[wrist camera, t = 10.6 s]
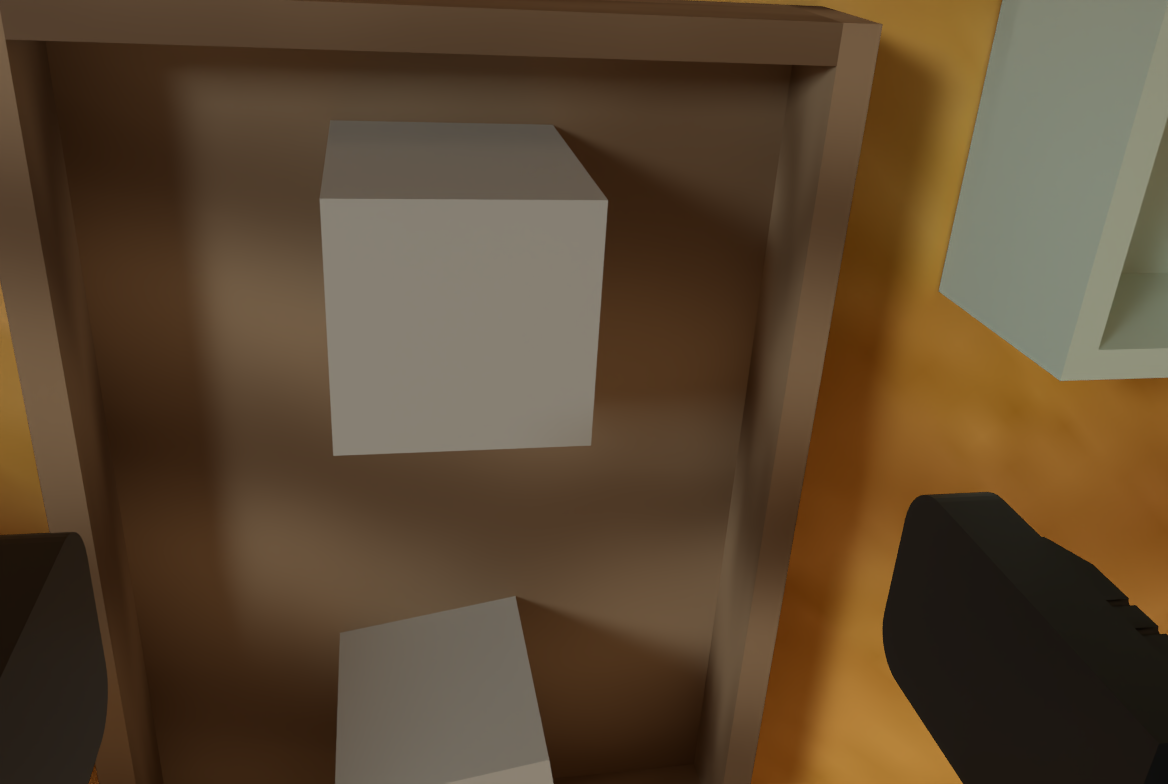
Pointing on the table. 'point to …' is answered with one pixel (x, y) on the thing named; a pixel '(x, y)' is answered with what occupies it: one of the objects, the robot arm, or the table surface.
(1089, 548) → the table surface
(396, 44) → the tray
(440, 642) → the stone
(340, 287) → the grey rectangular block
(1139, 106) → the dump tub
